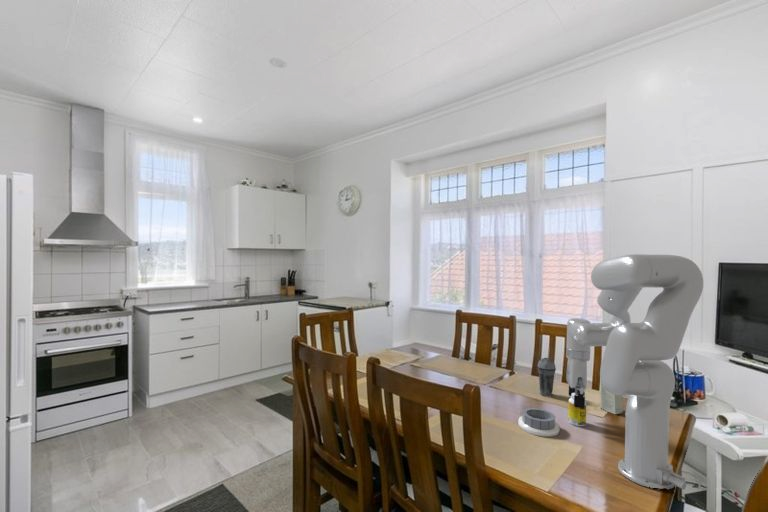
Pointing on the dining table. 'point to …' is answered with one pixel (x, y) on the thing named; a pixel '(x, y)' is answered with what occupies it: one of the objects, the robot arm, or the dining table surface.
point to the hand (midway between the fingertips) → (576, 401)
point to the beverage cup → (546, 375)
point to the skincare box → (610, 401)
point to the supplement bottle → (576, 413)
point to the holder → (538, 422)
